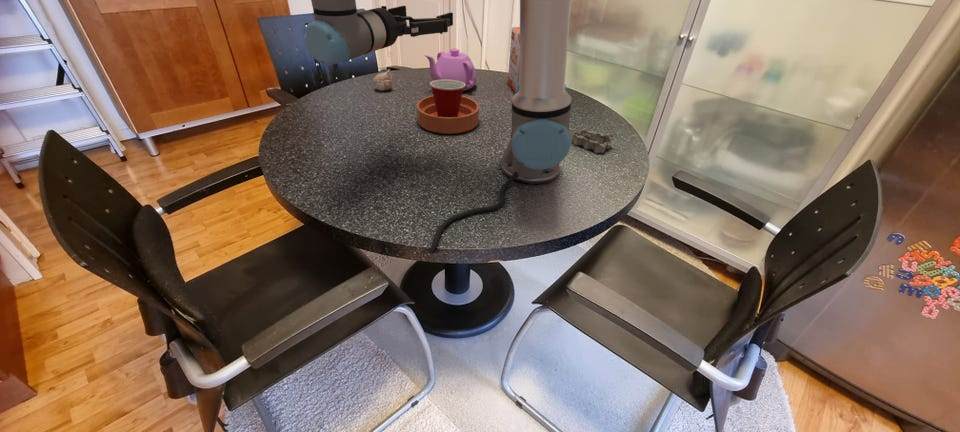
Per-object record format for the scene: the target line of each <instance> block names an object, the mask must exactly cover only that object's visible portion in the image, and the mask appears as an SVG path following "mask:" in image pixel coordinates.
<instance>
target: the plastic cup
mask: <svg viewBox="0 0 960 432" xmlns="http://www.w3.org/2000/svg"><path fill="white" fill-rule="evenodd" d="M429 86H430V88H431V90H432V91H431V92H432V94H433V95H434V99H435V105H436V110H437V114H438V117H458V112H459V108H460V102H461V97H462V96H463V93H464V91H463V89H464V87H465V83H463V82H461V81H457V80H447V79H443V80H435V81H433V80H431V81H430V82H429ZM433 95H432V96H433Z"/></svg>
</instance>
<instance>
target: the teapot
mask: <svg viewBox="0 0 960 432" xmlns="http://www.w3.org/2000/svg"><path fill="white" fill-rule="evenodd" d="M424 57H425V58H427V60H428V62H429V63H428V64H429V75H430V78H431V81H435V80H443V79H447V80H457V81H461V82H463V83H465V87H464V89H463V92H465V91H468V90H471V89H472V88H473V87H474V86H475V85H476V83H477V80H478V79H477V78H478V75H477V71H476V68H475V65H474V64H473V61H472V60H471V57H469V55H468V54H466V53H464V52H461V51H460V49H459V48H450V49H449V51H446V52H445V51H439V52H438V53H437V55H436V62H435V58H434V57H433V56H431V55H424Z"/></svg>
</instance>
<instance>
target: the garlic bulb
mask: <svg viewBox="0 0 960 432" xmlns="http://www.w3.org/2000/svg"><path fill="white" fill-rule="evenodd" d="M390 71H391V69H390V68H388V69H387V70H386V71H385V72H381V73H377V74H376V75H375V76H374V78H373V79H372V83H373V86H374V87H375V88H376V89H377V90H378V91H381V92H385V91H389V90H390V89H391V88H392V87H393V76H392V74H391V73H390Z"/></svg>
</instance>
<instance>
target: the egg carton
mask: <svg viewBox="0 0 960 432" xmlns="http://www.w3.org/2000/svg"><path fill="white" fill-rule="evenodd" d="M572 134H573V135H572V139H571V142H573V145H574V146H582V147H583V149H584V150H593V152H594V153H595V154H599V153H600V154H603V153H605V150H609V149H610V146H611V144H612V143H611V142H612V139H614V137H615V136H614V135H615V134H612V133H609V132H604V133H602V132H595V131H592V130H586V129H585V128H579V129H577V130H575V131H572Z"/></svg>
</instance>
